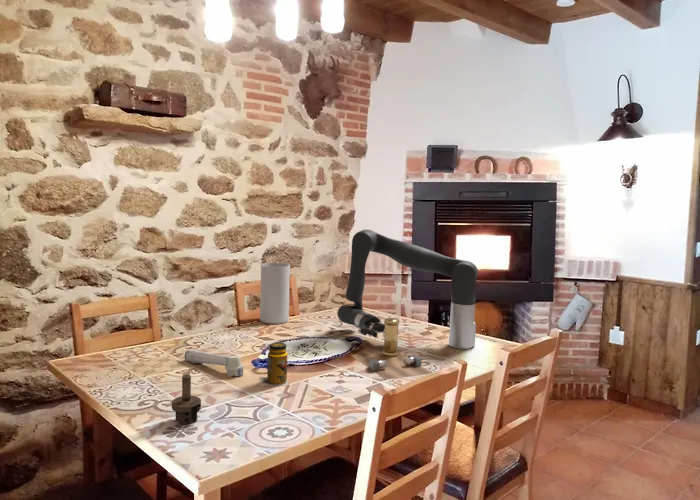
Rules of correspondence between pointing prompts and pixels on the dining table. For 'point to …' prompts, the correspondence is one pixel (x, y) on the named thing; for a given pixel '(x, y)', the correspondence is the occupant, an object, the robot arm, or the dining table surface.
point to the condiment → (276, 366)
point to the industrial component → (186, 403)
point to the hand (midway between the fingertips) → (386, 333)
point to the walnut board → (392, 365)
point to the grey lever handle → (216, 361)
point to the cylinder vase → (274, 293)
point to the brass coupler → (391, 337)
